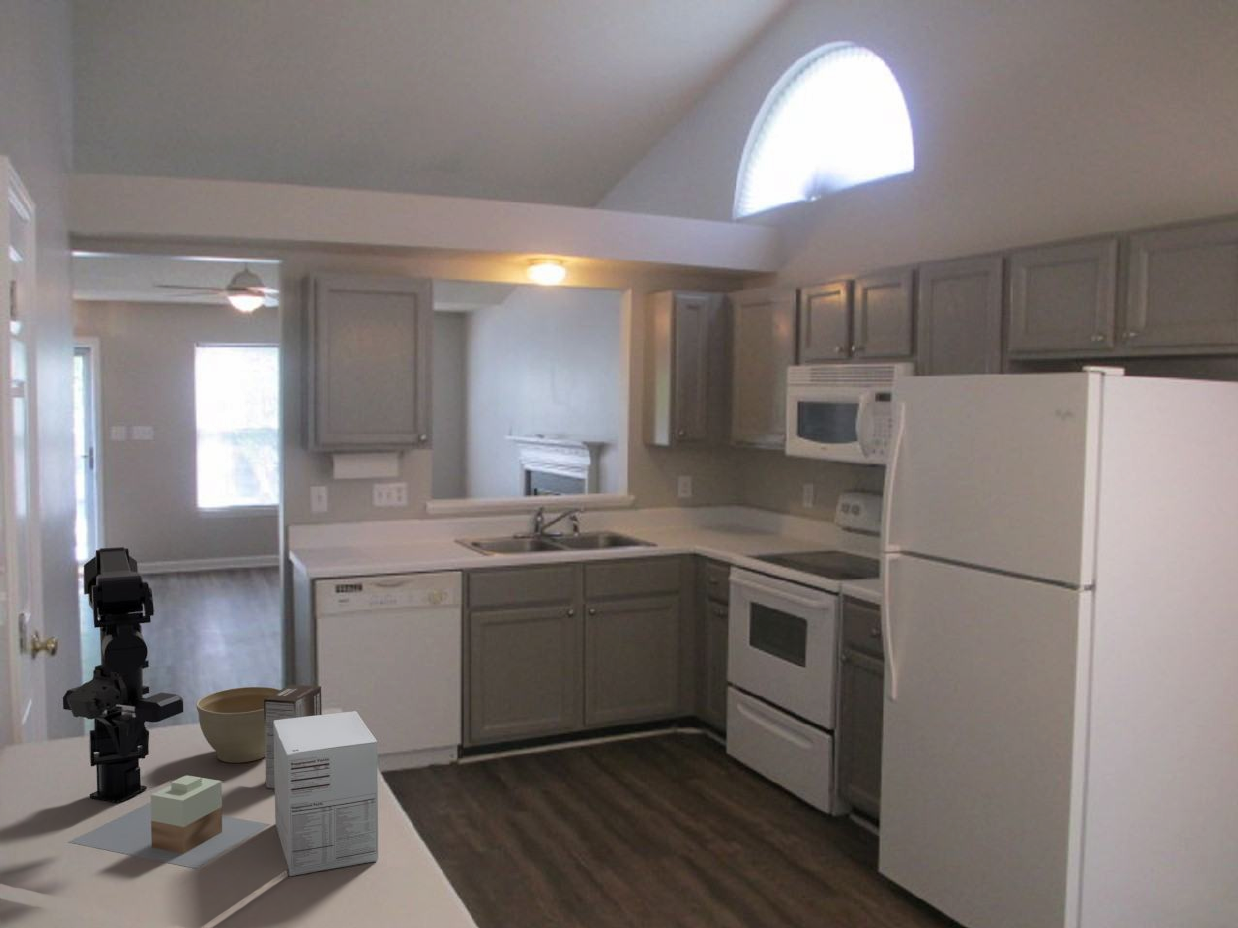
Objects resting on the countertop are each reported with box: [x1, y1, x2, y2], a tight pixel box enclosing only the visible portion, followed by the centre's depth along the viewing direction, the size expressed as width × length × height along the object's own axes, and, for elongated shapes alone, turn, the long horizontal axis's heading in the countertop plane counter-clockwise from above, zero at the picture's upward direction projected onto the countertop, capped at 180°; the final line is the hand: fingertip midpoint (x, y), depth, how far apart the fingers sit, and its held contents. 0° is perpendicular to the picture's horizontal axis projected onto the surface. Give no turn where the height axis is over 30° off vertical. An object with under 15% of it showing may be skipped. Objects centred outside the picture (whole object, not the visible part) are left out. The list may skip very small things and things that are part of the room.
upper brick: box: [150, 775, 223, 827], centre depth 154 cm, size 8×6×5 cm
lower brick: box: [151, 806, 223, 854], centre depth 155 cm, size 8×6×5 cm
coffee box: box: [264, 684, 323, 790], centre depth 181 cm, size 9×6×16 cm
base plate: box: [68, 801, 271, 870], centre depth 157 cm, size 24×16×1 cm, turn 70°
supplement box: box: [273, 710, 379, 877], centre depth 155 cm, size 17×13×18 cm
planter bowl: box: [196, 686, 281, 764], centre depth 194 cm, size 16×16×11 cm
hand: (124, 756), depth 158 cm, fingers closed
